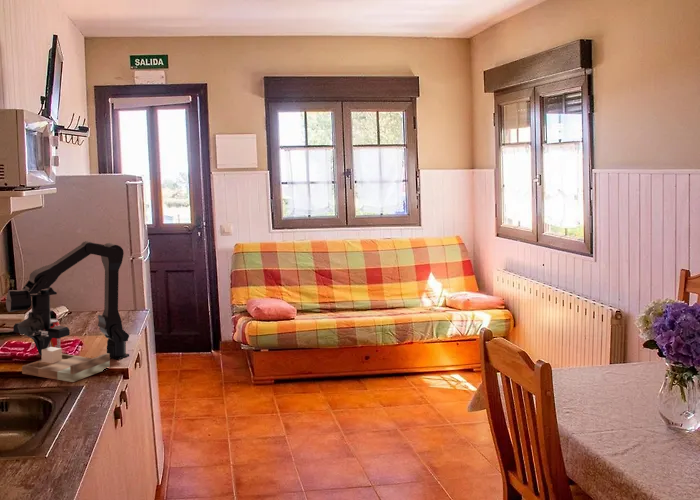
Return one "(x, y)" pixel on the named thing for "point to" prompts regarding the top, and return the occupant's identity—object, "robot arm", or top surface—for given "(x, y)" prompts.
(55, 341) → the soda can
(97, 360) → the board
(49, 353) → the block
